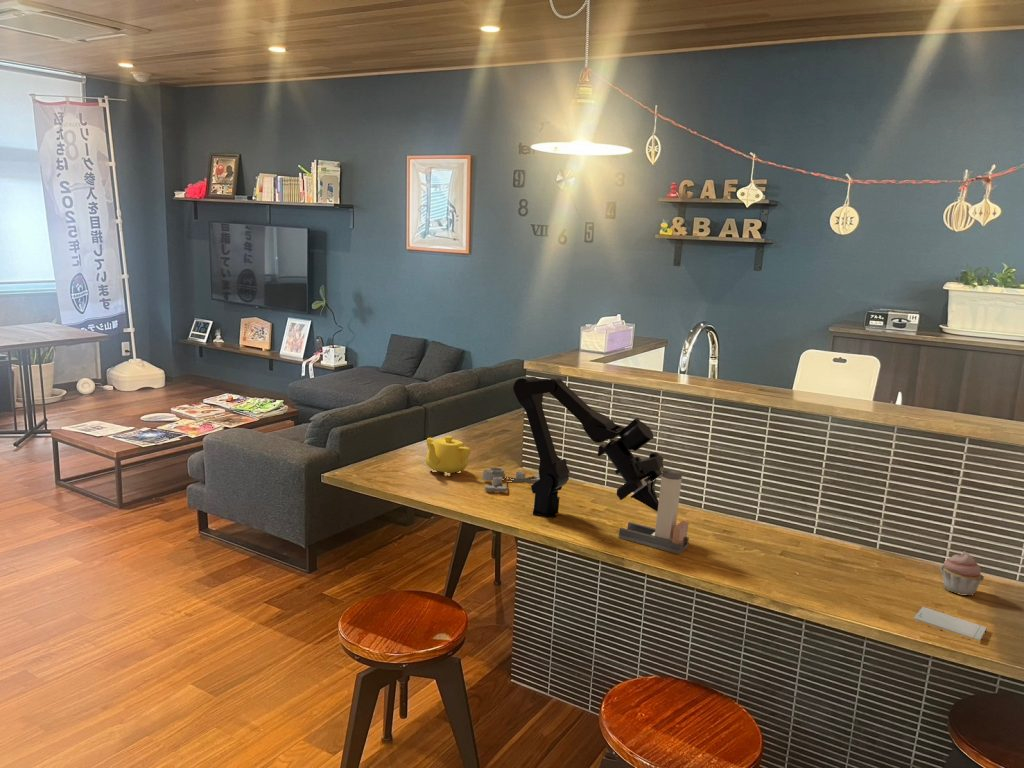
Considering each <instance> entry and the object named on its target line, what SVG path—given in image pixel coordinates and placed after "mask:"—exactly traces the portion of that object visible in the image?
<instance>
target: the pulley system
mask: <svg viewBox="0 0 1024 768" xmlns="http://www.w3.org/2000/svg"><path fill="white" fill-rule="evenodd" d="M505 477H508V478H511V479H514V480H511V479H506V478H505ZM504 478H505V479H506V483H505V486H504V485H503V481H502V479H504ZM505 479H504V480H505ZM528 479H529V480H528ZM539 479H540V478H539V474H535V475H533V476H529V477H526V472H523V471H517V472H515V477H512V476H506V473H505V468H500V467H499V468H498V467H492V468H491V467H490V468H489V469H487V470H482V480H483V481H484V482H485V481H486V482H487V481H490V482H491V483H492V484H491V485H485V486H484V490H485V492H487V493H489V492H490V491H491V492H496V493H497V492H498V493H507V492H508V483H507V481H512V482H511V483H515V482H527V483H526V484H528V483H529V484H534V483H535V482H537V481H538V480H539ZM491 480H493V482H492V481H491Z"/></svg>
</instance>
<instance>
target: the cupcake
mask: <svg viewBox="0 0 1024 768" xmlns="http://www.w3.org/2000/svg"><path fill="white" fill-rule="evenodd" d="M939 570H940V572H941V575H942V581H943V588H944V587H945V588H946V589H948V590H950V591H952V592H956V593H960V594H967V595H972V594H974V593H975V594H976V592H977V590H978V588H979V586H980V584H981V583H982V582H983V581H984V578H985V576H984V575H982V573H981V572H982V569H981V567H980V564H978V563H977V561H976V560H975V558H974V557H973V556H972V555H971V554H969V553H968V552H966V551H965V550H964V551H963V552H962V553H961V554H954V555H952V556H950V557H949V558H947V559H945V561H944V562H943V564H941V567H939ZM945 588H944V589H945ZM946 589H945V590H946ZM948 590H947V591H948ZM952 592H951V593H952ZM975 594H974V595H975Z"/></svg>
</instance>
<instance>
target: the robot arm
mask: <svg viewBox="0 0 1024 768" xmlns="http://www.w3.org/2000/svg"><path fill="white" fill-rule="evenodd" d="M512 391H513V395H514V396H515V398H516V400H517V402H518V404H519V405H520V406H521V407H522V408H523V410H525V414H526V418H527V421H528V424H529V427H530V430H531V435H532V438H533V440H534V444H535V448H536V451H537V454H538V455H537V456H538V457H539V463H538V464H539V465H538V475H539V478H540V479H539V480H538V481H537V482H535V483H532V484H531V486H530V487H531V488H530V489H531V491H532V492H531V493H532V494H534V503H533V509H532V515H535V516H542V517H550V518H556V517H557V514H558V513H559V509H560V508H559V507H560V498H561V497H560V496H558V495H559V491H561V490H562V488H563V487H564V486H565V485H566V484H567V483H568V481H569V478H570V477H569V475H570V474H569V473H570V472H571V471H570V470H569V468H568V465H567V460H566V459H565V458H563V459H561V458H560V457H559V456H558V454H557V452H556V449H555V446H554V442H553V439H552V436H551V432H550V429H549V426H548V425H549V424H548V423H547V418H546V414H545V412H544V409H543V400H544V394H548V393H549V394H551V395H552V396H553V398H555V400H557V401H558V402H559V403H560V405H562V406H563V407H564V408H566V409H567V410H568V412H570V413H571V414H572V415H573V416H574V418H576V419H577V420H578V421H579V422H580V424H581V425H582V426H581V427H582V428H583V430H584V432H585V433H586V435H587V436H588V437H589V438H590V440H592V441H593V442H594V443H597V444H600V443H604V442H606V441H608V442H607V443H606V444H601V445H599V446H598V452H597V456H598V457H601V456H603V455H606V457H608V459H609V460H610V462H611V463H612V465H613V466H614V467H615V469H616V470H615V471H614V473H615V474H616V475H618V474H620V476H621V477H622V479H623V480H624V482H625V483H624V484H622V486H620V487H619V488H617V489H616V496H617V497H618V499H619V501H622V500H624V499H625V498H627V497H628V496H629V495H630V498H631V499H635V500H636V501H638V502H640V503H642V504H643V505H645V506H647V507H648V508H650V509H652V510H654V511H655V512H657V511H658V503H659V498H658V497H657V494H656V490H655V487H656V482H657V479H658V478H659V477H660V476H662V473H663V471H661V468H664V467H665V466H664V463H663V462H664V457H662V455H661V454H659V452H658V451H655V452H651V453H650V454H649V455H648V457H647V458H644V459H642V458H641V457H640V456H634V454H633V452H632V451H635V452H637V451H638V450H640V449H641V448H643V447H644V446H646V445H647V444H648V443H649V442H651V441H652V440H654V434H653V431H652V429H651V428H650V426H648V425H647V424H646V423H644V422H643V421H641V420H640V418H638V417H637V418H634V419H632V420H631V422H630V423H629V424H627V425H626V426H625V427H624V426H623V425H622V426H621V425H618V424H616V423H615V422H614V421H613V420H612V419H611V418H609V417H608V416H606V415H604V414H603V413H600V412H598V411H596V410H594V409H592V407H590V405H588V404H587V403H586V402H585V401H584V400H583V399H582V398H581V397H579V396H578V395H577V393H575V392H574V391H573V390H572V389H571V388H570V387H569V386H568V385H567V384H565V383H564V381H563V380H562V379H561V378H560V377H553V378H542V379H539V378H537V377H536V376H532V375H531V376H527V377H522V378H518V379H516V380H515V382H514V383H513V385H512ZM619 437H620V438H619ZM616 438H618V439H617V440H614V439H616ZM609 440H610V441H609ZM632 493H633V494H632ZM631 494H632V495H631Z"/></svg>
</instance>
